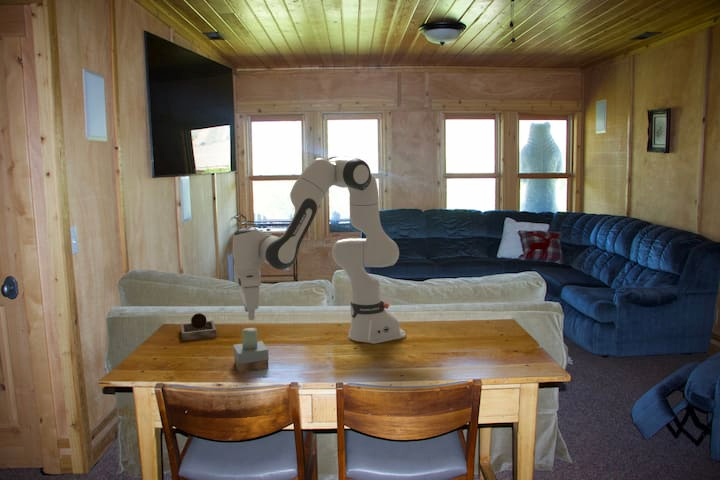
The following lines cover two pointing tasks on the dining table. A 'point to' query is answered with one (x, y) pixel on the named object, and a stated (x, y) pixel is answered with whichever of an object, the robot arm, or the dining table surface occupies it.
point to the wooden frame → (198, 334)
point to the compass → (198, 322)
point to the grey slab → (250, 353)
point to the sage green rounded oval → (249, 338)
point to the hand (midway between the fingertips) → (249, 315)
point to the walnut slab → (251, 366)
